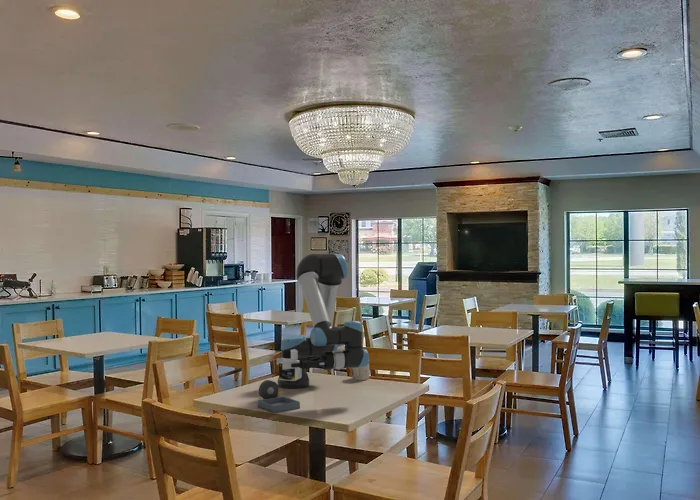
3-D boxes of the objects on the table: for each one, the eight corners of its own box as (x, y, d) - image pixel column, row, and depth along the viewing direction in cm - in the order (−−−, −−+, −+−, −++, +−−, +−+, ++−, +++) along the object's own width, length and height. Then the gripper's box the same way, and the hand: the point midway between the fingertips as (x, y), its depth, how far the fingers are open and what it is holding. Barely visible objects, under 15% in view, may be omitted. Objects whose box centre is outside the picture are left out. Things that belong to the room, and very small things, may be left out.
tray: (258, 406, 246) (258, 400, 246) (283, 402, 254) (283, 396, 254) (273, 412, 237) (273, 406, 237) (299, 408, 244) (299, 401, 244)
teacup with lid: (354, 376, 310) (354, 353, 310) (371, 377, 307) (371, 354, 308) (347, 381, 298) (347, 357, 299) (365, 382, 296) (365, 358, 296)
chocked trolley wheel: (258, 400, 258) (258, 381, 258) (280, 396, 265) (280, 378, 265) (262, 401, 256) (262, 382, 256) (284, 397, 262) (284, 379, 262)
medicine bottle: (278, 380, 245) (278, 350, 245) (285, 376, 251) (285, 347, 252) (294, 381, 242) (294, 351, 242) (301, 377, 249) (301, 348, 249)
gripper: (340, 373, 242) (286, 377, 235) (324, 364, 263) (273, 368, 256) (340, 355, 242) (286, 358, 235) (324, 347, 264) (273, 350, 256)
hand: (279, 363), depth 245 cm, fingers closed on medicine bottle, 10 cm apart
